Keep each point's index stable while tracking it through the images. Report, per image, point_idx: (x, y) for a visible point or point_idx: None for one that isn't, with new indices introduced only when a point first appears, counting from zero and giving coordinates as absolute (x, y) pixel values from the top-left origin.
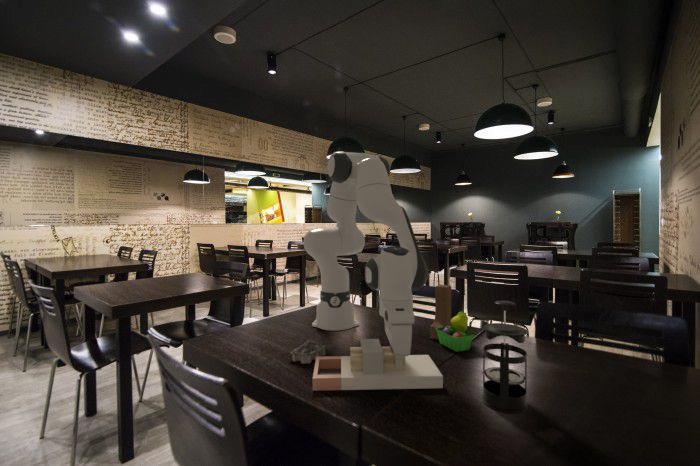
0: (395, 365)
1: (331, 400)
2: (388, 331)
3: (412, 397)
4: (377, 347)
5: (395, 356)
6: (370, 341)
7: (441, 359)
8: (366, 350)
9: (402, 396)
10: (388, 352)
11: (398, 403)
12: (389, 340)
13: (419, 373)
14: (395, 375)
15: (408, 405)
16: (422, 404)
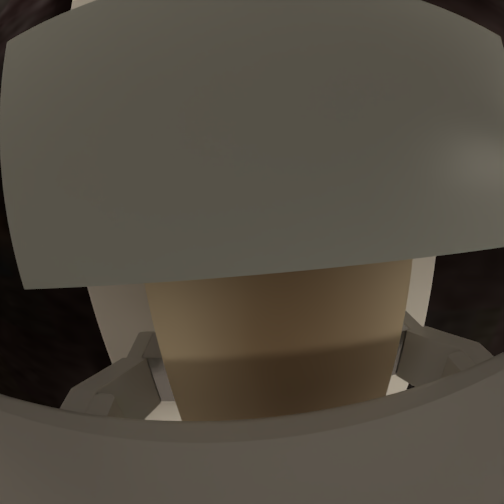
0: (138, 334)
1: (32, 13)
2: (447, 490)
3: (67, 331)
4: (196, 212)
5: (85, 381)
6: (460, 124)
7: None
8: (68, 51)
9: (63, 295)
10: (224, 331)
11: (17, 272)
12: (281, 442)
13: (165, 414)
14: (109, 303)
15: (18, 305)
16: (38, 350)
